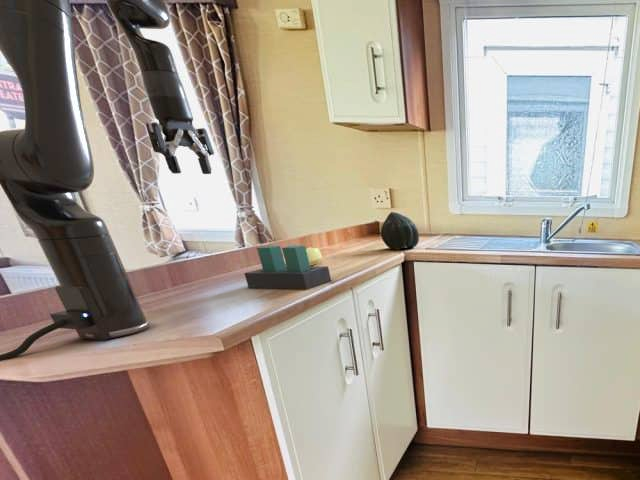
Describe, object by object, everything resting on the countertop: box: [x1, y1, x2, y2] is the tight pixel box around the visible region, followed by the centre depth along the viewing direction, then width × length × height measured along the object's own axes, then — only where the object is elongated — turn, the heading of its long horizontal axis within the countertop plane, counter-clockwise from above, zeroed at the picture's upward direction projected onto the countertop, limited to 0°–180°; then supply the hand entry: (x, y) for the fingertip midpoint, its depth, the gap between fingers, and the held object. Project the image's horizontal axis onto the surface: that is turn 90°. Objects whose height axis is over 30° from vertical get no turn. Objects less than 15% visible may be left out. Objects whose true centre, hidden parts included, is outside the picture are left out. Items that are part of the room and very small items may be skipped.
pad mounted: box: [281, 245, 310, 272], centre depth 113 cm, size 4×4×10 cm
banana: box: [285, 247, 323, 266], centre depth 144 cm, size 14×6×20 cm
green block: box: [256, 245, 286, 272], centre depth 115 cm, size 4×4×10 cm
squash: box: [380, 211, 420, 250], centre depth 174 cm, size 14×15×15 cm
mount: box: [243, 265, 332, 290], centre depth 115 cm, size 10×18×4 cm, turn 76°
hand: (192, 173), depth 106 cm, fingers open, 8 cm apart
